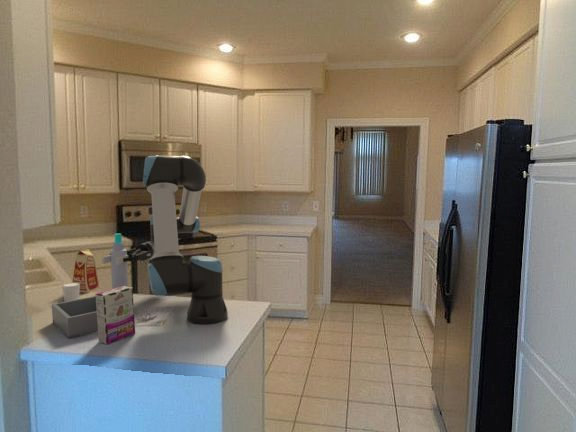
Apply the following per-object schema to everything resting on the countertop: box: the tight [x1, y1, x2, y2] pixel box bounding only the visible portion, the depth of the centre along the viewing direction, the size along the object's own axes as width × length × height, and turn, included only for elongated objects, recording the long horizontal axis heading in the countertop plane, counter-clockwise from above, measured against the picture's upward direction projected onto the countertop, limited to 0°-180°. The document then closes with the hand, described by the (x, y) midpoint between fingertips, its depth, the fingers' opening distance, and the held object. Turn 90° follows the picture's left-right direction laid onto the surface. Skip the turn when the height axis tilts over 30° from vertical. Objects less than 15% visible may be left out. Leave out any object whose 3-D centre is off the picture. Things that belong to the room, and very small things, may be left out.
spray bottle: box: [110, 233, 129, 289], centre depth 172 cm, size 6×6×22 cm
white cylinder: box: [61, 282, 80, 302], centre depth 184 cm, size 7×7×7 cm
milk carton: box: [71, 248, 100, 294], centre depth 200 cm, size 9×9×20 cm
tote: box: [51, 295, 98, 340], centre depth 154 cm, size 20×16×7 cm
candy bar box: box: [95, 285, 136, 345], centre depth 142 cm, size 11×5×16 cm, turn 148°
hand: (109, 260), depth 167 cm, fingers closed on spray bottle, 6 cm apart
